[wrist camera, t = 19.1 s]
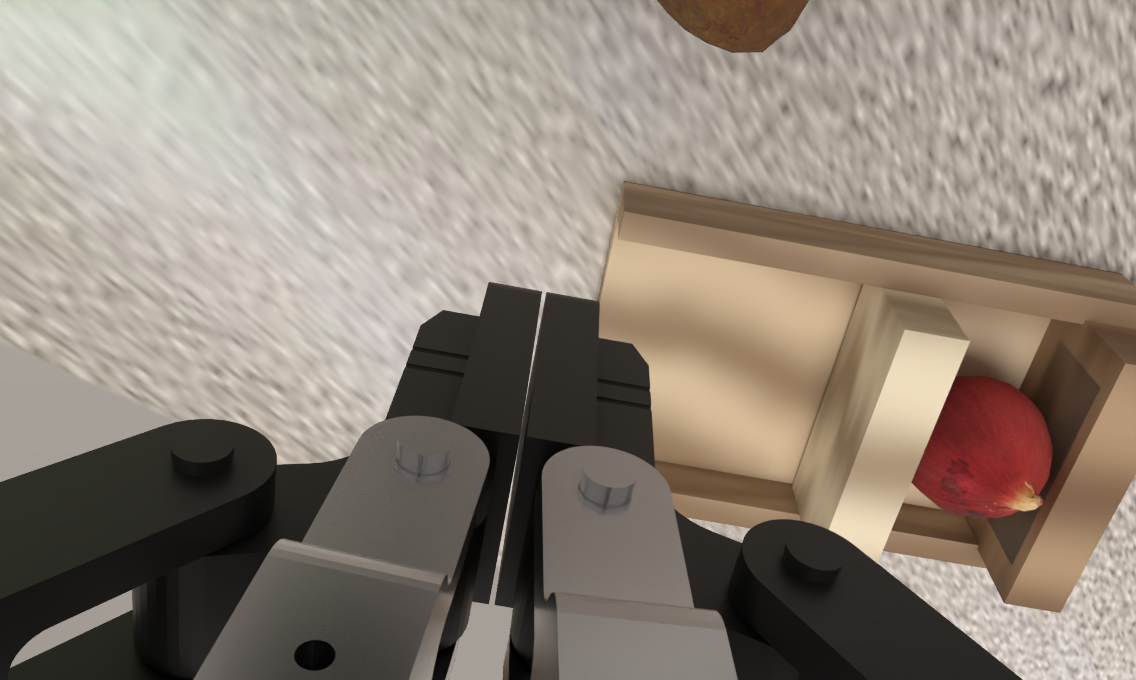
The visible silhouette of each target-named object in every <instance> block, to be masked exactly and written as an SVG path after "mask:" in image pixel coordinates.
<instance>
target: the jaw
mask: <svg viewBox="0 0 1136 680" xmlns="http://www.w3.org/2000/svg"><path fill="white" fill-rule="evenodd" d="M969 343H970V340H969V339H968V337H967V336H966V335H965V333H964V332H963V330H962V329H961V327H960V326H959V324H958V323H957V321H956V320H955V318H954V317H953V315H952V314H951V312H950V311H949V309H948V308H947V306H946V305H945V303H944V302H943V300H942V299H941V298H935V297H930V296H924V295H919V294H914V293H908V292H903V291H897V290H892V289H886V288H881V287H875V286H870V285H864V284H863V287H862V290H861V292H860V295H859V298H858V301H857V304H856V307H855V310H854V312H853V315H852V318H851V321H850V324H849V327H848V330H847V332H846V335H845V338H844V341H843V344H842V347H841V349H840V352H839V355H838V358H837V361H836V364H835V367H834V369H833V372H832V375H831V378H830V381H829V384H828V387H827V389H826V392H825V395H824V398H823V401H822V404H821V407H820V409H819V412H818V415H817V418H816V421H815V424H814V427H813V429H812V432H811V435H810V438H809V441H808V444H807V447H806V449H805V452H804V455H803V458H802V461H801V464H800V467H799V469H798V472H797V475H796V478H795V481H794V484H793V487H792V488H793V492H794V496H795V500H796V504H797V507H798V511H799V515H800V519H801V521H804V522H808V523H812V524H815V525H818V526H821V527H824V528H826V529H828V530H830V531H832V532H835V533H836V534H838V535H840V536H842V537H843V538H845V539H847V540H848V541H849V542H851V543H852V544H853V545H855V546H856V547H857V548H859V549H860V550H861V551H862V552H864V553H865V554H866V555H867V556H869V557H870V558H871V559H872V560H874V561H875V562H876V563H878V561H879V558H880V556H881V554H882V551H883V549H884V546H885V544H886V542H887V539H888V537H889V534H890V532H891V530H892V527H893V525H894V522H895V520H896V518H897V515H898V513H899V511H900V508H901V506H902V503H903V501H904V499H905V496H906V494H907V491H908V489H909V487H910V484H911V482H912V479H913V477H914V475H915V472H916V470H917V467H918V465H919V463H920V460H921V458H922V455H923V453H924V451H925V448H926V446H927V443H928V441H929V439H930V436H931V434H932V431H933V429H934V427H935V424H936V422H937V420H938V417H939V415H940V412H941V410H942V408H943V405H944V403H945V400H946V398H947V396H948V393H949V391H950V388H951V386H952V384H953V381H954V379H955V376H956V374H957V372H958V369H959V367H960V364H961V362H962V360H963V357H964V355H965V352H966V350H967V348H968V345H969Z"/></svg>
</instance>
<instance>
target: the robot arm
mask: <svg viewBox="0 0 1136 680" xmlns="http://www.w3.org/2000/svg"><path fill="white" fill-rule="evenodd" d="M541 295H542V291H537V290H531V289H526V288H520V287H514V286H509V285H503V284H498V283H492V282H489V283H488V287H487V291H486V295H485V298H484V302H483V306H482V310H481V313H480V317H479V316H473V315H468V314H462V313H456V312H451V311H445V310H443V311H441V312H440V313H438V314H437V315H435V316H434V317H432V318H431V319H430V320H428V321H427V322H425V323H424V324H422V325H421V326H420V329H419V332H418V334H417V337H416V340H415V342H414V345H413V349H412V350H411V353H410V355H409V358H408V361H407V364H406V367H405V369H404V371H403V374H402V377H401V379H400V382H399V385H398V387H397V390H396V393H395V395H394V398H393V401H392V403H391V406H390V409H389V411H388V414H387V417H386V419H385V420H384V421H382V422H379V423H377V424H375V425H373V426H372V427H370V428H369V429H367V430H366V431H365V432H364V433H363V434H362V436H361V437H360V438H359V440H358V442H357V444H356V445H355V447H354V449H353V451H352V453H351V454H350V456H348V457H345V458H342V459H338V460H334V461H328V462H323V463H310V464H284V465H277V455H276V452H275V449H274V447H273V445H272V444H271V442H270V441H269V440H268V439H267V438H266V437H265V436H263V435H262V434H260V433H259V432H257V431H256V430H254V429H252V428H249V427H247V426H244V425H241V424H238V423H235V422H230V421H225V420H215V419H196V420H186V421H181V422H175V423H172V424H168V425H165V426H162V427H159V428H156V429H153V430H150V431H147V432H144V433H141V434H138V435H136V436H133V437H130V438H127V439H124V440H121V441H118V442H115V443H112V444H109V445H107V446H104V447H101V448H98V449H95V450H92V451H89V452H86V453H83V454H81V455H78V456H75V457H72V458H69V459H66V460H63V461H61V462H57V463H54V464H52V465H49V466H46V467H43V468H40V469H37V470H34V471H31V472H28V473H25V474H23V475H20V476H17V477H14V478H11V479H8V480H5V481H2V482H0V680H450V676H451V673H452V670H453V666H454V663H455V659H456V654H457V648H458V642H459V638H460V637H461V636H462V634H463V633H464V631H465V629H466V627H467V624H468V620H469V615H470V609H471V604H472V602H479V603H485V604H489V600H490V594H491V589H492V584H493V578H494V573H495V568H496V562H497V557H498V552H499V546H500V541H501V536H502V530H503V525H504V520H505V514H506V509H507V504H508V498H509V493H510V488H511V482H512V477H513V472H514V466H515V461H516V467H515V473H514V480H513V486H512V493H511V500H510V506H509V513H508V519H507V526H506V533H505V539H504V546H503V552H502V559H501V566H500V572H499V580H498V586H497V592H496V599H495V605H499V606H505V607H511V608H513V614H512V621H511V628H510V633H509V638H508V643H507V648H506V652H505V658H504V664H503V680H1022V679H1021V678H1020V677H1019V676H1017V675H1016V674H1015V673H1014V672H1012V671H1011V670H1010V669H1009V668H1007V667H1006V666H1005V665H1004V664H1002V663H1001V662H1000V661H999V660H997V659H996V658H995V657H994V656H992V655H991V654H990V653H989V652H987V651H986V650H985V649H984V648H982V647H981V646H980V645H979V644H977V643H976V642H975V641H974V640H972V639H971V638H970V637H969V636H967V635H966V634H965V633H964V632H962V631H961V630H960V629H959V628H957V627H956V626H955V625H954V624H952V623H951V622H950V621H949V620H947V619H946V618H945V617H944V616H942V615H941V614H940V613H939V612H937V611H936V610H935V609H934V608H932V607H931V606H930V605H929V604H927V603H926V602H925V601H924V600H922V599H921V598H920V597H919V596H917V595H916V594H915V593H914V592H912V591H911V590H910V589H909V588H907V587H906V586H905V585H904V584H902V583H901V582H900V581H899V580H897V579H896V578H895V577H894V576H892V575H891V574H890V573H889V572H887V571H886V570H885V569H884V568H882V567H881V566H880V565H879V564H877V563H876V562H875V561H874V560H872V559H871V558H870V557H869V556H867V555H866V554H865V553H864V552H862V551H861V550H860V549H859V548H857V547H856V546H855V545H853V544H852V543H851V542H849V541H848V540H847V539H845V538H843V537H842V536H840V535H838V534H836V533H835V532H832V531H830V530H828V529H826V528H824V527H821V526H818V525H815V524H812V523H808V522H804V521H798V520H791V519H776V520H769V521H765V522H762V523H760V524H757V525H755V526H754V527H753V528H751V529H750V530H749V531H748V532H747V534H746V535H745V537H744V540H743V543H740V542H737V541H735V540H732V539H730V538H727V537H725V536H722V535H720V534H717V533H715V532H712V531H710V530H708V529H705V528H703V527H701V526H699V525H697V524H695V523H694V522H692V521H690V520H689V519H687V518H686V517H684V516H683V515H681V514H680V513H679V512H678V511H677V510H675V509H674V505H673V500H672V495H671V491H670V488H669V485H668V483H667V482H666V480H665V478H664V477H663V476H662V475H661V474H660V473H659V472H658V471H657V470H656V469H655V456H654V440H653V424H652V410H651V392H650V375H649V365H648V364H647V362H646V361H645V360H644V358H643V357H642V356H641V354H640V353H639V352H638V350H637V349H636V348H635V347H634V345H633V344H632V343H626V342H620V341H615V340H609V339H603V338H599V313H600V302H599V301H593V300H588V299H582V298H577V297H571V296H565V295H560V294H554V293H549V292H547V293H546V298H545V303H544V308H543V313H542V318H541V324H540V329H539V335H538V340H537V345H536V351H535V356H534V361H533V367H532V372H531V377H530V383H529V388H528V381H529V374H530V368H531V361H532V354H533V348H534V341H535V335H536V328H537V321H538V315H539V308H540V302H541ZM527 388H528V393H527ZM526 394H527V399H526ZM525 401H526V405H525ZM524 407H525V410H524ZM523 414H524V416H523ZM522 421H523V422H522ZM521 427H522V428H521ZM519 439H520V440H519ZM518 445H519V447H518ZM517 450H518V453H517ZM516 456H517V460H516ZM130 590H132V600H133V610H131V611H129V612H127V613H125V614H123V615H121V616H119V617H116V618H114V619H112V620H110V621H108V622H106V623H104V624H102V625H100V626H98V627H95V628H93V629H91V630H89V631H87V632H85V633H83V634H81V635H79V636H77V637H74V638H72V639H70V640H68V641H66V642H64V643H62V644H60V645H58V646H56V647H54V648H51V649H49V650H47V651H45V652H43V653H41V654H39V655H37V656H35V657H32V658H31V659H28V660H26V661H24V662H22V663H20V664H18V665H16V666H14V667H11V668H10V666H11V663H12V661H13V659H14V658H15V656H16V655H17V654H18V652H19V651H20V650H21V648H22V647H23V646H24V645H25V644H26V643H27V642H29V641H30V640H31V639H32V638H33V637H35V636H36V635H38V634H39V633H41V632H42V631H44V630H45V629H48V628H49V627H52V626H54V625H56V624H58V623H60V622H62V621H65V620H67V619H69V618H71V617H73V616H76V615H78V614H80V613H82V612H84V611H86V610H89V609H91V608H93V607H95V606H97V605H99V604H102V603H104V602H106V601H108V600H110V599H112V598H115V597H117V596H119V595H121V594H123V593H125V592H128V591H130Z"/></svg>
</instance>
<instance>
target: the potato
mask: <svg viewBox="0 0 1136 680" xmlns="http://www.w3.org/2000/svg"><path fill="white" fill-rule="evenodd" d="M657 1H658V2H659V3H660V4H661V5H662V7H663V8H664V9H665V10H666V11H667V13H668V14H669V15H670V16H671V17H672V18H673V19H675V20H676V21H677V22H678V23H679V24H680V25H681V26H682V27H683V28H684V29H685V30H686V31H688V32H690V33H691V34H693V35H695V36H696V37H698V38H700V39H701V40H703V41H704V42H706V43H708V44H711V45H714V46H716V47H719V48H721V49H724V50H727V51H729V52H732V53H736V52H763V51H764V50H766V49H767V48H768V47H769V46H770V45H772V44H773V43H774V42H775V41H776V40H778V39H779V38H780V37H781V36H783V35H784V34H786V33H787V32H789V31H790V30H791V28H792V27H793V25H794V24H795V22H796V20H797V19H798V17H799V15H800V14H801V12H802V11H803V9H804V7H805V6H806V4H807V3H808V1H809V0H657Z"/></svg>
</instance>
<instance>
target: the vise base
mask: <svg viewBox="0 0 1136 680" xmlns="http://www.w3.org/2000/svg"><path fill="white" fill-rule="evenodd" d="M863 284H864V285H870V286H875V287H881V288H886V289H892V290H897V291H903V292H908V293H914V294H919V295H924V296H930V297H935V298H941V299H942V300H943V302H944V303H945V305H946V306H947V308H948V309H949V311H950V312H951V314H952V315H953V317H954V318H955V320H956V321H957V323H958V324H959V326H960V327H961V329H962V330H963V332H964V333H965V335H966V336H967V337H968V339H969V340H970V343H969V345H968V348H967V350H966V352H965V355H964V357H963V360H962V362H961V364H960V367H959V369H958V372H957V374H956V376H988V377H991V378H994V379H997V380H1000V381H1003V382H1006V383H1009V384H1011V385H1013V386H1014V387H1016V388H1017V389H1018V390H1020V391H1021V392H1022V393H1023V394H1024V395H1025V396H1027V397H1028V398H1029V399H1030V400H1031V401H1032V402H1033V403H1034V404H1035V405H1036V406H1037V407H1038V409H1039V410H1040V412H1041V414H1042V415H1043V417H1044V419H1045V422H1046V425H1047V428H1048V431H1049V434H1050V438H1051V442H1052V446H1053V455H1052V462H1051V469H1050V474H1049V478H1048V480H1047V482H1046V484H1045V485H1044V487H1043V488H1042V490H1041V492H1040V493H1039V496H1040V497H1042V499H1043V504H1042V505H1040V506H1039V507H1038V508H1037V509H1035V510H1031V511H1021V510H1019V511H1017V512H1016V513H1014V514H1012V515H1008V516H1003V517H998V518H989V517H968V516H959V515H956V514H952V513H949V512H947V511H945V510H943V509H942V508H940V507H938V506H937V505H936V504H934V503H933V502H932V501H931V500H930V499H929V498H927V497H926V496H925V495H924V494H923V493H921V492H920V491H919V490H918V489H917V488H916V487H915V486H914V485H913V484H912V483H911V484H910V487H909V489H908V491H907V494H906V496H905V499H904V501H903V503H902V506H901V508H900V511H899V513H898V515H897V518H896V520H895V522H894V525H893V527H892V530H891V532H890V534H889V537H888V539H887V542H886V544H885V546H884V549H883V551H887V552H893V553H899V554H905V555H911V556H917V557H923V558H928V559H934V560H940V561H946V562H952V563H958V564H964V565H970V566H975V567H981V568H987V570H988V572H989V574H990V576H991V578H992V580H993V582H994V584H995V586H996V588H997V590H998V592H999V594H1000V596H1001V598H1002V600H1003V602H1004V603H1005V604H1011V605H1017V606H1023V607H1029V608H1035V609H1041V610H1047V611H1053V612H1059V613H1060V612H1061V610H1062V608H1063V607H1064V605H1065V603H1066V601H1067V599H1068V597H1069V595H1070V594H1071V592H1072V590H1073V588H1074V586H1075V584H1076V583H1077V581H1078V579H1079V577H1080V575H1081V573H1082V572H1083V570H1084V568H1085V566H1086V564H1087V562H1088V561H1089V559H1090V557H1091V555H1092V553H1093V551H1094V550H1095V548H1096V546H1097V544H1098V542H1099V540H1100V538H1101V537H1102V535H1103V533H1104V531H1105V529H1106V527H1107V526H1108V524H1109V522H1110V520H1111V518H1112V516H1113V515H1114V513H1115V511H1116V509H1117V507H1118V505H1119V504H1120V502H1121V500H1122V498H1123V496H1124V494H1125V493H1126V491H1127V489H1128V487H1129V485H1130V483H1131V482H1132V480H1133V478H1134V476H1135V474H1136V287H1135V286H1134V285H1133V284H1132V283H1131V282H1130V281H1129V280H1128V279H1126V278H1125V277H1124V276H1123V275H1122V274H1119V273H1114V272H1108V271H1103V270H1097V269H1092V268H1087V267H1081V266H1076V265H1070V264H1065V263H1060V262H1054V261H1049V260H1044V259H1038V258H1033V257H1027V256H1022V255H1017V254H1011V253H1006V252H1000V251H995V250H990V249H984V248H979V247H974V246H968V245H963V244H957V243H952V242H947V241H941V240H936V239H930V238H925V237H920V236H914V235H909V234H904V233H898V232H893V231H887V230H882V229H877V228H871V227H866V226H860V225H855V224H850V223H844V222H839V221H834V220H828V219H823V218H817V217H812V216H807V215H801V214H796V213H791V212H785V211H780V210H774V209H769V208H764V207H758V206H753V205H747V204H742V203H737V202H731V201H726V200H721V199H715V198H710V197H704V196H699V195H694V194H688V193H683V192H677V191H672V190H667V189H661V188H656V187H651V186H645V185H640V184H634V183H629V182H623V186H622V191H621V196H620V200H619V205H618V209H617V214H616V219H615V223H614V228H613V233H612V237H611V242H610V247H609V251H608V256H607V261H606V265H605V270H604V275H603V279H602V284H601V289H600V293H599V298H598V301H599V302H600V313H599V338H603V339H609V340H615V341H620V342H626V343H632V344H633V345H634V347H635V348H636V349H637V350H638V352H639V353H640V354H641V356H642V357H643V358H644V360H645V361H646V362H647V364H648V365H649V375H650V392H651V410H652V424H653V440H654V456H655V469H656V470H657V471H658V472H659V473H660V474H661V475H662V476H663V477H664V478H665V480H666V482H667V483H668V485H669V488H670V491H671V495H672V500H673V505H674V509H675V510H677V511H678V512H679V513H680V514H681V515H683V516H684V517H687V518H693V519H699V520H705V521H711V522H717V523H723V524H729V525H734V526H740V527H746V528H753V527H754V526H755V525H757V524H760V523H762V522H765V521H769V520H776V519H791V520H798V521H801V519H800V515H799V511H798V507H797V504H796V500H795V496H794V492H793V488H792V487H793V484H794V481H795V478H796V475H797V472H798V469H799V467H800V464H801V461H802V458H803V455H804V452H805V449H806V447H807V444H808V441H809V438H810V435H811V432H812V429H813V427H814V424H815V421H816V418H817V415H818V412H819V409H820V407H821V404H822V401H823V398H824V395H825V392H826V389H827V387H828V384H829V381H830V378H831V375H832V372H833V369H834V367H835V364H836V361H837V358H838V355H839V352H840V349H841V347H842V344H843V341H844V338H845V335H846V332H847V330H848V327H849V324H850V321H851V318H852V315H853V312H854V310H855V307H856V304H857V301H858V298H859V295H860V292H861V290H862V287H863Z"/></svg>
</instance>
